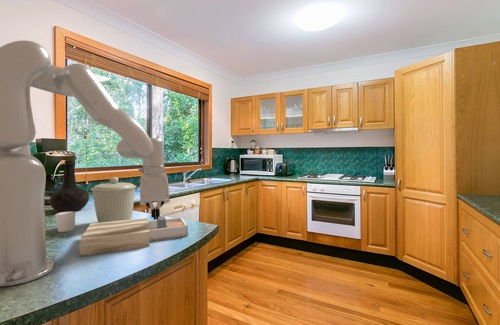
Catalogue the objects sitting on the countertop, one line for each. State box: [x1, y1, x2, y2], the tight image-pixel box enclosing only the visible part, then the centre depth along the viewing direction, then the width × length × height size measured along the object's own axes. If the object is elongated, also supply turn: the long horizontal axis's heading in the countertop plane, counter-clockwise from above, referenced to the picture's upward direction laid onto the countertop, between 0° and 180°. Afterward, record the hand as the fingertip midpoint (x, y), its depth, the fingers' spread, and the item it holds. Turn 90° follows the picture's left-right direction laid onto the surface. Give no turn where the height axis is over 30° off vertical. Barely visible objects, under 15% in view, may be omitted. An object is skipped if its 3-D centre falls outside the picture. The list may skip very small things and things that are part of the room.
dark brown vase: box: [49, 160, 90, 213], centre depth 140 cm, size 18×18×28 cm
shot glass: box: [55, 211, 77, 233], centre depth 105 cm, size 7×7×7 cm
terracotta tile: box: [166, 221, 184, 228], centre depth 99 cm, size 6×6×3 cm
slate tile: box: [156, 215, 167, 229], centre depth 97 cm, size 6×6×3 cm
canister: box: [90, 176, 137, 223], centre depth 114 cm, size 18×18×21 cm
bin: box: [148, 217, 189, 242], centre depth 100 cm, size 14×14×4 cm
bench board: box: [78, 217, 150, 257], centre depth 91 cm, size 20×20×5 cm
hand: (155, 218), depth 96 cm, fingers closed
